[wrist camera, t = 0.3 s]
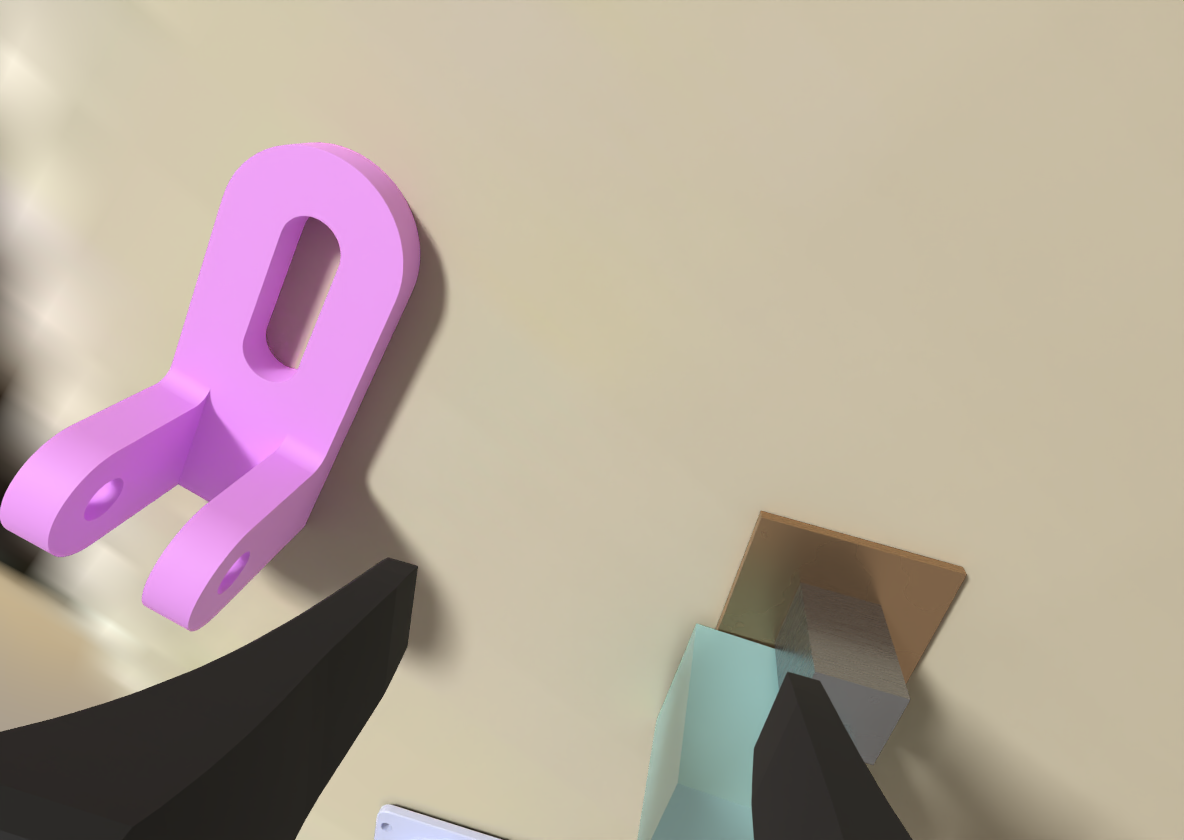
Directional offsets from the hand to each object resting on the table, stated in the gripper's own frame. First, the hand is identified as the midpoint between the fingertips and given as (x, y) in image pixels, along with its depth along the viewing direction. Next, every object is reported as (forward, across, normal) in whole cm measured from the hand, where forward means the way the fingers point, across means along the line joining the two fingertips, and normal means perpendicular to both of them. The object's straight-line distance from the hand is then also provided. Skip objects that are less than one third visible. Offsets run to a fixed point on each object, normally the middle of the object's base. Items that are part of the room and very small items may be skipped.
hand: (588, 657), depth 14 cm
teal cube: (+10, -6, +8) cm, 14 cm away
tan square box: (+10, -7, +4) cm, 13 cm away
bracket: (+10, +12, 0) cm, 15 cm away
